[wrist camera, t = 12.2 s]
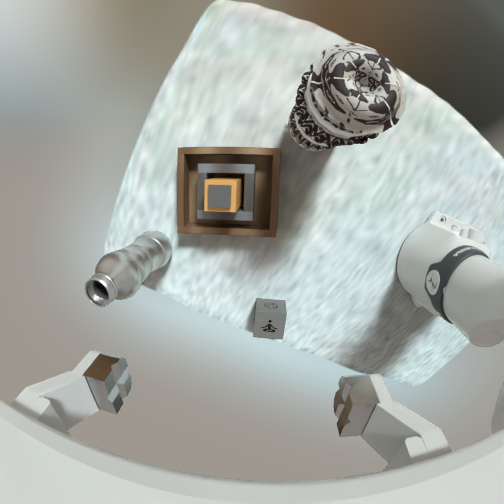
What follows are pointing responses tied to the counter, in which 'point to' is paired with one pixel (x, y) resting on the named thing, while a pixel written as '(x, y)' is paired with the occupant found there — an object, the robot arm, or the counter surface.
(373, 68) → the decorative candle
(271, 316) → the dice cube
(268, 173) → the walled box
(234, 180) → the block
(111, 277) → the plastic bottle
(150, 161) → the counter surface
